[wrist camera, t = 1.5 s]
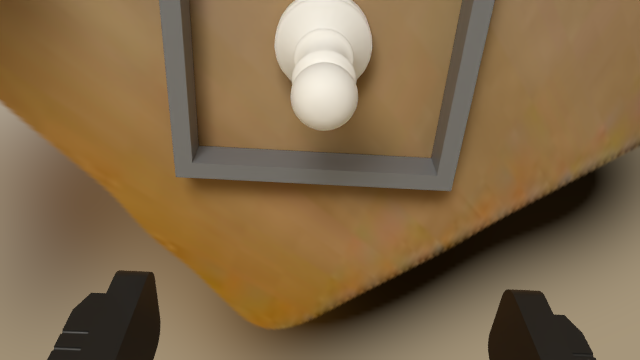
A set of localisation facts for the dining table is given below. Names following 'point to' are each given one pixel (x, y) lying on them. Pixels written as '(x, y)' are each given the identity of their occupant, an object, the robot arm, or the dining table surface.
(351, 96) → the chess pawn
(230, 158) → the grey square frame
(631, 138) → the dining table surface
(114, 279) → the robot arm
